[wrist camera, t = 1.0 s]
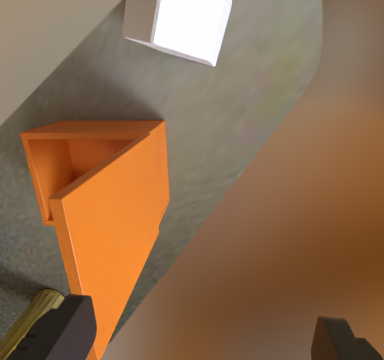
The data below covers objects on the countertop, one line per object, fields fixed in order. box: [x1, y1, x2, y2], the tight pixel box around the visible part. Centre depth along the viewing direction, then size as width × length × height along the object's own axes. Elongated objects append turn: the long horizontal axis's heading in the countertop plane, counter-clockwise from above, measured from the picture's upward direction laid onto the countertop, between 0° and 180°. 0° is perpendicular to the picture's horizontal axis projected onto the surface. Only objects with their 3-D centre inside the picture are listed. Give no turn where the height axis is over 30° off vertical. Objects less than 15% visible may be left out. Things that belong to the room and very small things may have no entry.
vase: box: [0, 289, 64, 360], centre depth 47 cm, size 6×6×14 cm
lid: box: [48, 134, 159, 360], centre depth 24 cm, size 16×13×1 cm
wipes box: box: [20, 120, 170, 226], centre depth 37 cm, size 16×13×9 cm
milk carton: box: [122, 0, 232, 66], centre depth 24 cm, size 7×7×19 cm
